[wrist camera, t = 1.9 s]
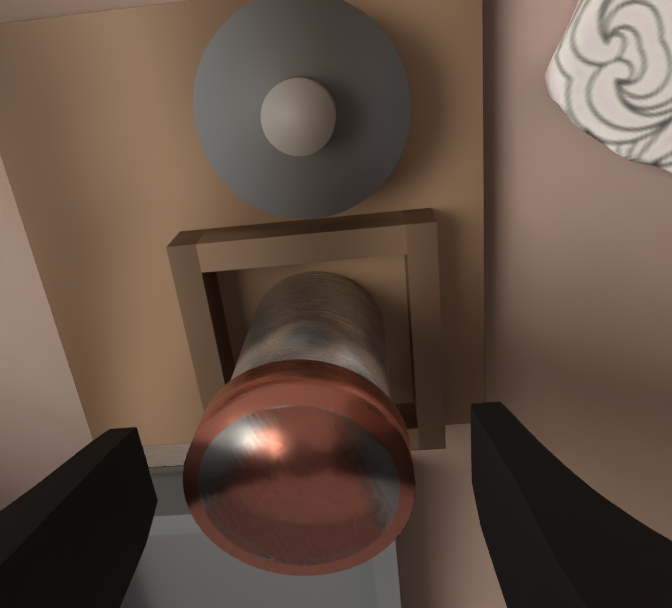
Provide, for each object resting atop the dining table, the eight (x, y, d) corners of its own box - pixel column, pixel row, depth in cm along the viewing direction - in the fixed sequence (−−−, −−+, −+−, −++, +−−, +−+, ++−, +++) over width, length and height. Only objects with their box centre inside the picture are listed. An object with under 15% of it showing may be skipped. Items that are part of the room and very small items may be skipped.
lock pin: (255, 401, 19) (206, 581, 13) (230, 268, 17) (159, 400, 11) (398, 391, 19) (420, 570, 13) (388, 254, 17) (408, 382, 11)
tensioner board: (107, 431, 21) (55, 513, 18) (-18, 29, 16) (-129, 26, 12) (478, 404, 20) (506, 485, 17) (474, -30, 15) (512, -53, 11)
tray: (145, 681, 27) (125, 742, 24) (71, 473, 22) (39, 523, 20) (406, 670, 26) (411, 732, 24) (388, 451, 21) (392, 501, 19)
